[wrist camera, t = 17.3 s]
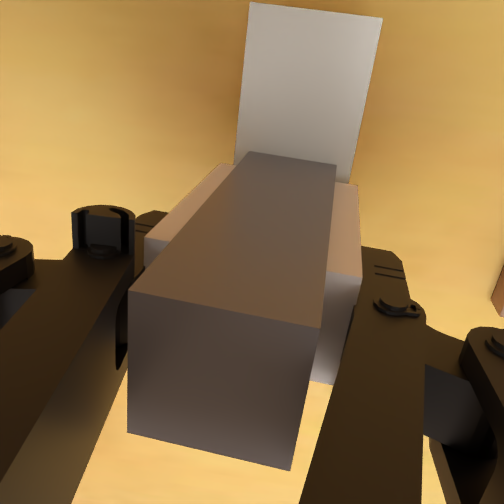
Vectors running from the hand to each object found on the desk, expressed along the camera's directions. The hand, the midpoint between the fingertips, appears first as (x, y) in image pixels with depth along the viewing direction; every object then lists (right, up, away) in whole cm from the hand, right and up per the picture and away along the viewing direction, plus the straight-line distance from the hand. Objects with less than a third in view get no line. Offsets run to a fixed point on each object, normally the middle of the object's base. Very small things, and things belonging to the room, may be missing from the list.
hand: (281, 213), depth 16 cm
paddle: (+1, +2, +4) cm, 4 cm away
